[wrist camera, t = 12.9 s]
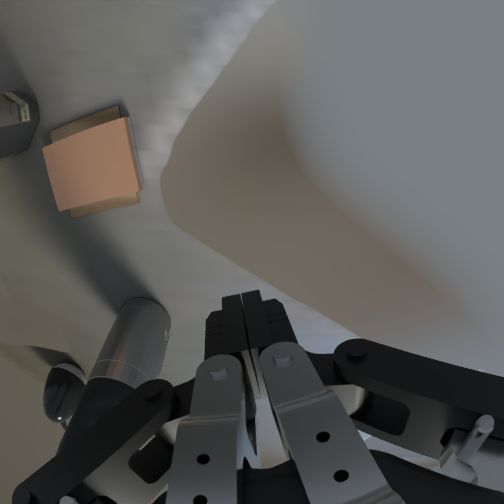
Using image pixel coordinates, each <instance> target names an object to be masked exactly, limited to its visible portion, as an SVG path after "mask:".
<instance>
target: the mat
mask: <svg viewBox="0 0 504 504" xmlns="http://www.w3.org/2000/svg"><path fill="white" fill-rule="evenodd" d="M119 118H121V116H120V111H119V106H115V107H112V108H109V109H106V110H103V111H100V112H98V113H95V114H92V115H89V116H87V117H84V118H82V119H79V120H77V121H74V122H72V123H69V124H67V125H65V126H62V127H60V128H58V129H56V130H53V131H51V132H50V134H51V140H52V143H54V142H57V141H59V140H61V139H64V138H66V137H69V136H71V135H74V134H76V133H79V132H82V131H84V130H87V129H90V128H92V127H95V126H98V125H101V124H104V123H107V122H110V121H113V120H116V119H119ZM137 203H139V199H138V195H137V192H135V193H130V194H126V195H121V196H117V197H113V198H109V199H105V200H101V201H97V202H93V203H89V204H85V205H82V206H78V207H74V208H71V209H69V210H70V213H71V217H72V218H76V217H80V216H84V215H88V214H92V213H96V212H101V211H105V210H109V209H114V208H118V207H123V206H127V205H132V204H137Z"/></svg>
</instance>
